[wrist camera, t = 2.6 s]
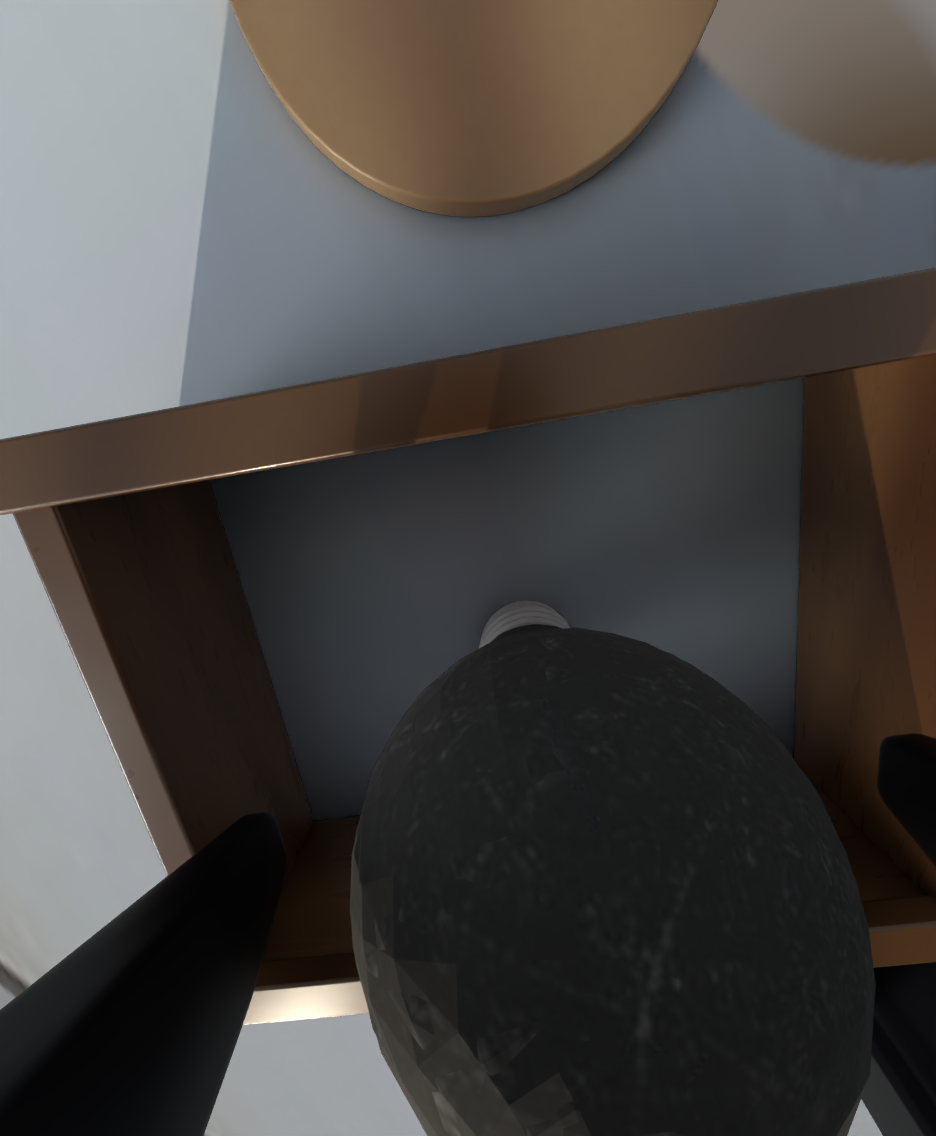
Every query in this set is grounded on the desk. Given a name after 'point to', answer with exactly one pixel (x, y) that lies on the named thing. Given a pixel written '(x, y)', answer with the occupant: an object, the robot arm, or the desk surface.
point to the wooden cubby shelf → (460, 408)
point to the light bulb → (605, 903)
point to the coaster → (472, 89)
